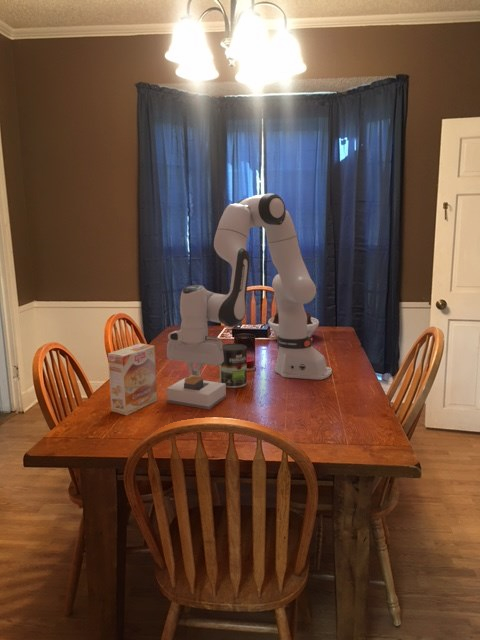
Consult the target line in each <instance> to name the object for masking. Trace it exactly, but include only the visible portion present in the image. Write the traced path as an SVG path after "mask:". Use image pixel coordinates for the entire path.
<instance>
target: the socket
mask: <svg viewBox="0 0 480 640" xmlns="http://www.w3.org/2000/svg"><path fill="white" fill-rule="evenodd" d="M185 378H186V377H184V378H182V379H180V380H179V381H177V382H175V383H173V384H172V385H170V386H168V387H166V400H167V401H166V403H167V404H169V403H170V404H174V405H175V404H176V405H181V406H185V407H186V406H187V407H192V408H198V409H203V410H211V409H212V408H213V407H215V406H216V405H217V404H219V403H220V402H221V401H223V400H224V399H225V398H226V397H227V394H226V393H227V387H226V383H220V381H219V382H218V381H212V380H204V379H203V388H202V389H200V390H199V391H198V390H192V389H186V388H184V383H185Z"/></svg>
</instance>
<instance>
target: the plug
mask: <svg viewBox="0 0 480 640" xmlns="http://www.w3.org/2000/svg"><path fill="white" fill-rule="evenodd" d="M184 378H185V383H184V388H186V389H192V390H198V391H199V390H200V389H202V388H203V380H204V379H203V374H202V375H201V374H200V375H199V376H196V375H191V374H190V375H189V376H187V377H184Z"/></svg>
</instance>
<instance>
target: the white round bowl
mask: <svg viewBox="0 0 480 640" xmlns="http://www.w3.org/2000/svg"><path fill="white" fill-rule="evenodd" d="M305 313H306V315H307V336H308V337H309V338H310V339H311V338H312V336H313V333H314V332H315V330H316V329H318V326H319V323H320V321H319V319H317V318H316V317H313V316H311V313H310V312H305ZM267 324H268V326H269V328H270V329H271V330H272V331H273V334H274V336H275V337H276V338H277V339H278V335H279V316H278V312H277V313H275V315H274V317H271V318H269V319H268V321H267Z"/></svg>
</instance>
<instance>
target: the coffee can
mask: <svg viewBox="0 0 480 640" xmlns="http://www.w3.org/2000/svg"><path fill="white" fill-rule="evenodd" d="M247 349H248V347H247V346H246V345H245V344H241V343H225V344H224V343H223V355H224V362H223V363H222V364H221V365H219V366H218V367H219V383H226V389H227V388H229V389H237V388H242V387H245V386H247V385H248V379H247V378H248V374H247V372H248V368H247V365H248V363H247V362H248V361H247V358H248V357H247V352H248V351H247Z"/></svg>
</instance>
